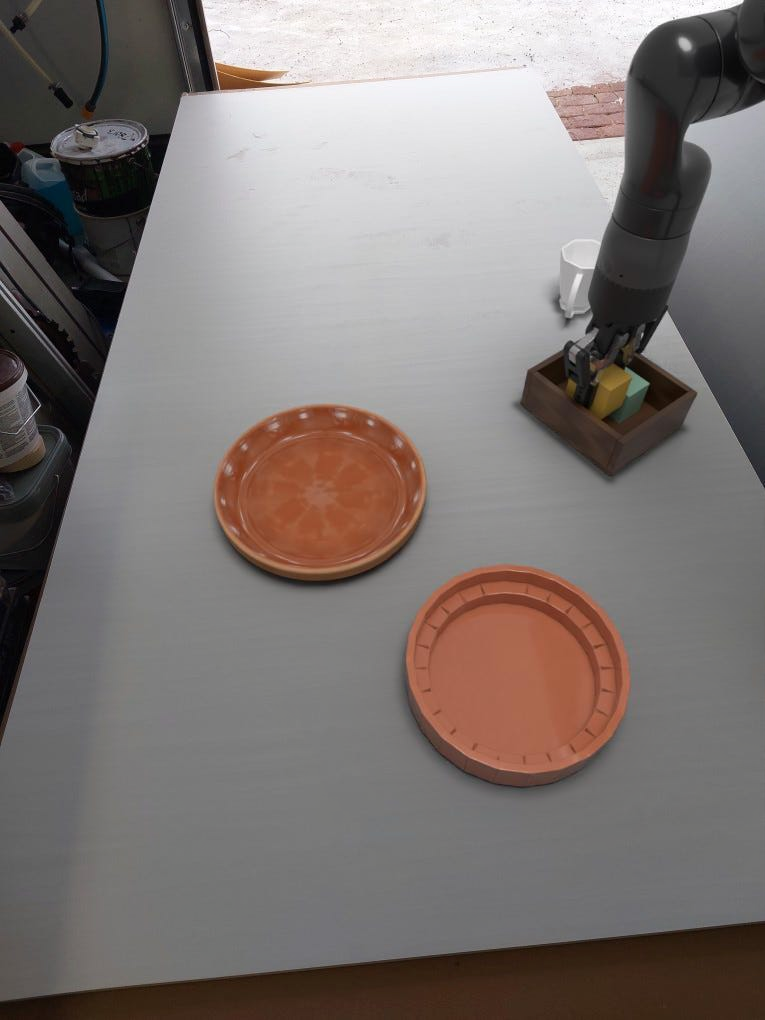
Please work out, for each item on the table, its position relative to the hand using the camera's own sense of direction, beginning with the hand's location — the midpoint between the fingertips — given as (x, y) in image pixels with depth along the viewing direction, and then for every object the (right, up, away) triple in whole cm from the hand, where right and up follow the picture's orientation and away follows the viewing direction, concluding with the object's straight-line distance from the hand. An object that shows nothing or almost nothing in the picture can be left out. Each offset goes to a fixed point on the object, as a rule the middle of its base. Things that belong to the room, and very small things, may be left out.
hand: (595, 393), depth 79 cm
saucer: (-31, -12, -2) cm, 33 cm away
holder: (+2, -2, +5) cm, 6 cm away
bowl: (-13, -29, -15) cm, 35 cm away
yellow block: (0, -1, +1) cm, 1 cm away
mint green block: (+4, 0, +5) cm, 6 cm away
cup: (+2, +14, +17) cm, 22 cm away
